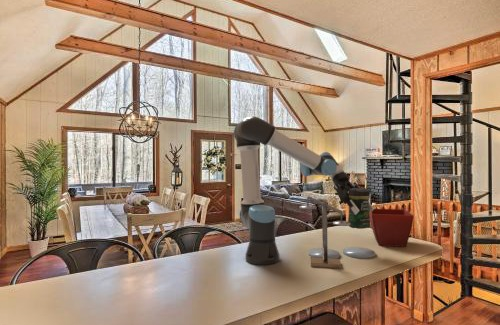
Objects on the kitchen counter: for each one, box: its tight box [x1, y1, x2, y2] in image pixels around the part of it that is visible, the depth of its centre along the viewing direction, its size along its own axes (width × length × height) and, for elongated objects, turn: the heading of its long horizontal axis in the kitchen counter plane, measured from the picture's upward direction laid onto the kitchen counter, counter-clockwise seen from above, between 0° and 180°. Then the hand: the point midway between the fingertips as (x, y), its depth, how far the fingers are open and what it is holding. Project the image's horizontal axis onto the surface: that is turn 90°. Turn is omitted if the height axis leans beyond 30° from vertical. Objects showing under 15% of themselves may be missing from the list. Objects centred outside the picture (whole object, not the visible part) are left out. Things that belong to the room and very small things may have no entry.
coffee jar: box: [347, 187, 371, 230], centre depth 133 cm, size 10×8×19 cm
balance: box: [299, 195, 351, 269], centre depth 118 cm, size 21×7×29 cm, turn 78°
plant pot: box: [369, 208, 414, 247], centre depth 150 cm, size 19×19×17 cm
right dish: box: [342, 246, 376, 259], centre depth 132 cm, size 14×14×1 cm
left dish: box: [308, 247, 341, 259], centre depth 130 cm, size 14×14×1 cm
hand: (364, 211), depth 130 cm, fingers closed on coffee jar, 9 cm apart
